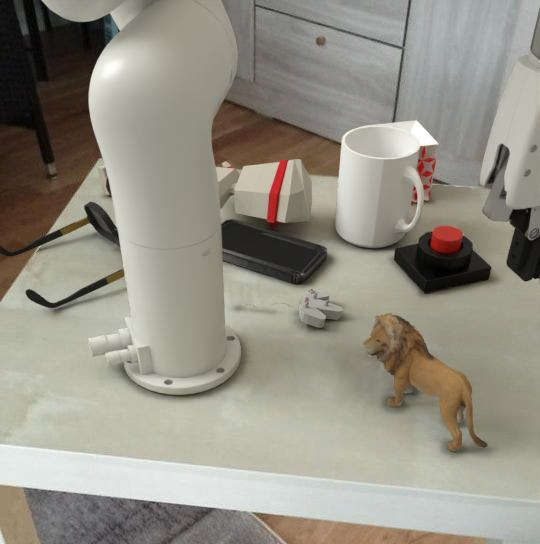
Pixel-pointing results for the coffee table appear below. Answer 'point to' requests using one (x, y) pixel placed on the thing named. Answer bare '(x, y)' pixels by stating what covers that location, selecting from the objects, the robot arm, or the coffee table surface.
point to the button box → (441, 265)
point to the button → (446, 239)
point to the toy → (261, 190)
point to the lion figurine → (422, 374)
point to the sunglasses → (94, 217)
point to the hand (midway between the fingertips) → (523, 271)
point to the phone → (270, 251)
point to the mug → (377, 186)
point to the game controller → (316, 307)
